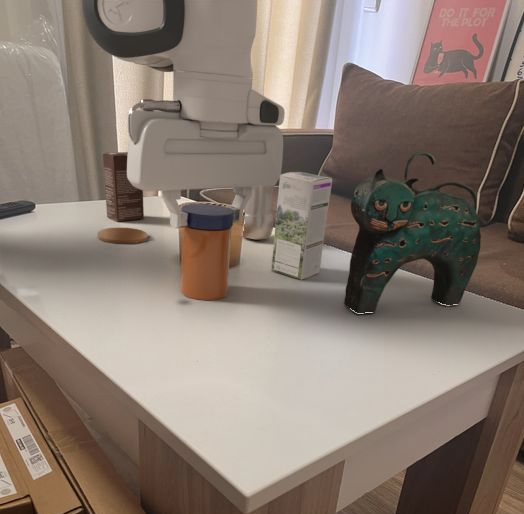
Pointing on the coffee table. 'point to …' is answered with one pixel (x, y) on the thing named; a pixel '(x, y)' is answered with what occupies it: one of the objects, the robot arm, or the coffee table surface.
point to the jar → (205, 263)
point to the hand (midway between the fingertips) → (207, 224)
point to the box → (121, 189)
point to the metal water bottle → (259, 213)
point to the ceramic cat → (410, 237)
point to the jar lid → (208, 216)
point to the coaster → (122, 235)
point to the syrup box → (300, 224)
